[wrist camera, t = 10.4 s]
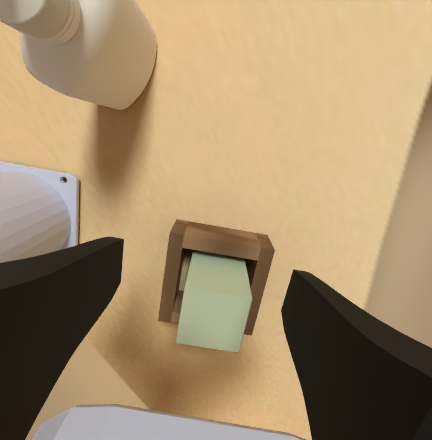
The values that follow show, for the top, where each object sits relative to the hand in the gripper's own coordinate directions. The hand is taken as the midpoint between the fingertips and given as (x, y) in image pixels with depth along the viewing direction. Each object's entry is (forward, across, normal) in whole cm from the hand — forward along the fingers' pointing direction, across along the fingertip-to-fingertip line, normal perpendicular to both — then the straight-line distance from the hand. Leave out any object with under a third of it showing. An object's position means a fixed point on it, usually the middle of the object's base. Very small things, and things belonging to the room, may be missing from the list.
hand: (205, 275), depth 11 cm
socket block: (+10, -1, +5) cm, 12 cm away
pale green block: (+10, -1, +5) cm, 12 cm away
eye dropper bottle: (+10, +8, -9) cm, 16 cm away
